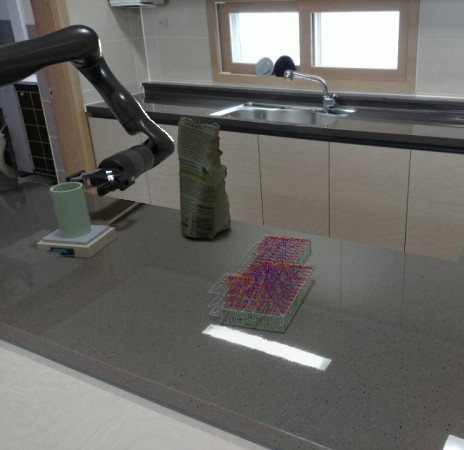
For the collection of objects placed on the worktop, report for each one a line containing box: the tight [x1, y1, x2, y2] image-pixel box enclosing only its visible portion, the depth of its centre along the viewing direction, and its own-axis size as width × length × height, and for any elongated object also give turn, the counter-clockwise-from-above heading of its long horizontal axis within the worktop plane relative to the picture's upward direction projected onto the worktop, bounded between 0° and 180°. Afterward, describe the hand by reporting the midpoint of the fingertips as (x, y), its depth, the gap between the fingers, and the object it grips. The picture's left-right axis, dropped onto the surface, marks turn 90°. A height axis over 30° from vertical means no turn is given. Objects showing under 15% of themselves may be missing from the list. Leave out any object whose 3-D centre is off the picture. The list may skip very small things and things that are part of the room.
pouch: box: [176, 116, 232, 240], centre depth 112 cm, size 11×12×25 cm
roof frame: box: [207, 233, 316, 333], centre depth 94 cm, size 30×15×5 cm, turn 162°
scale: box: [36, 224, 118, 259], centre depth 113 cm, size 12×10×3 cm
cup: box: [49, 182, 93, 238], centre depth 110 cm, size 6×6×10 cm
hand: (81, 191), depth 113 cm, fingers open, 8 cm apart
